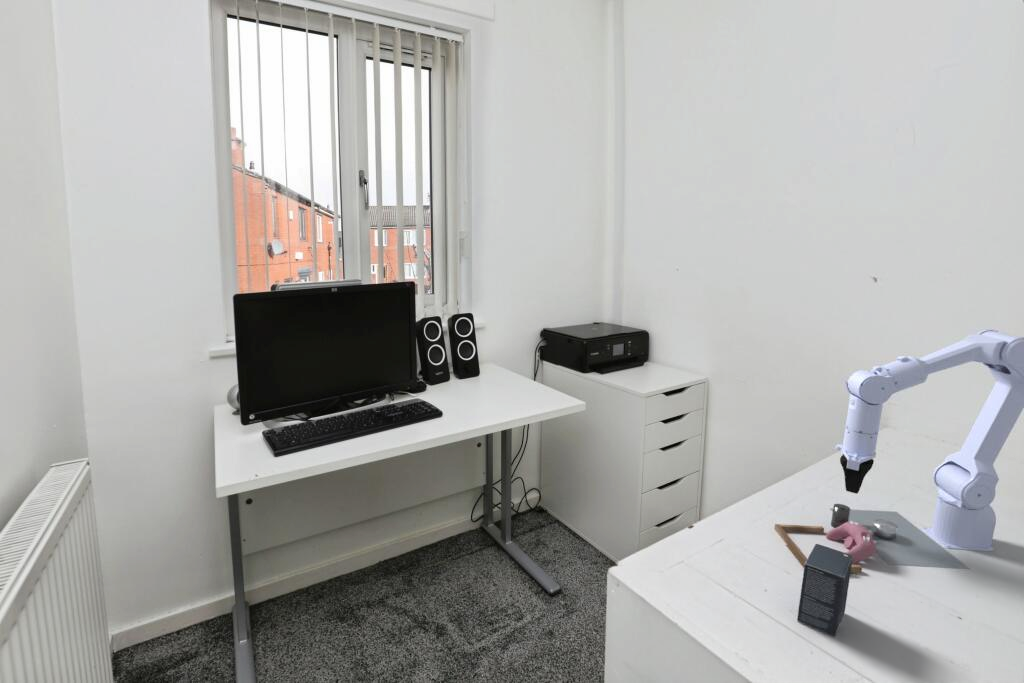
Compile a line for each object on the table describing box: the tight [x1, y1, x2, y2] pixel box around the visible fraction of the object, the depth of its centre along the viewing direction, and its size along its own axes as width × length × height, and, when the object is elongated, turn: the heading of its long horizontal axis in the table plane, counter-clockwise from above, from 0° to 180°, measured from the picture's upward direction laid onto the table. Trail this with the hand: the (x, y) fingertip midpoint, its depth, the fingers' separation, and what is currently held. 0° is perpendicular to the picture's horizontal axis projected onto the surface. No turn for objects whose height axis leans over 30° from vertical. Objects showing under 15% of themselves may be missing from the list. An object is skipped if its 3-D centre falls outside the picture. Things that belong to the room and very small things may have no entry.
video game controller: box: [825, 521, 876, 565], centre depth 109 cm, size 10×5×7 cm, turn 169°
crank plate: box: [828, 507, 971, 570], centre depth 116 cm, size 15×22×1 cm
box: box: [796, 543, 853, 637], centre depth 90 cm, size 8×6×11 cm
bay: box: [774, 523, 863, 576], centre depth 110 cm, size 10×15×2 cm
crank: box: [830, 503, 898, 540], centre depth 116 cm, size 13×4×5 cm, turn 84°
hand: (852, 491), depth 116 cm, fingers closed
